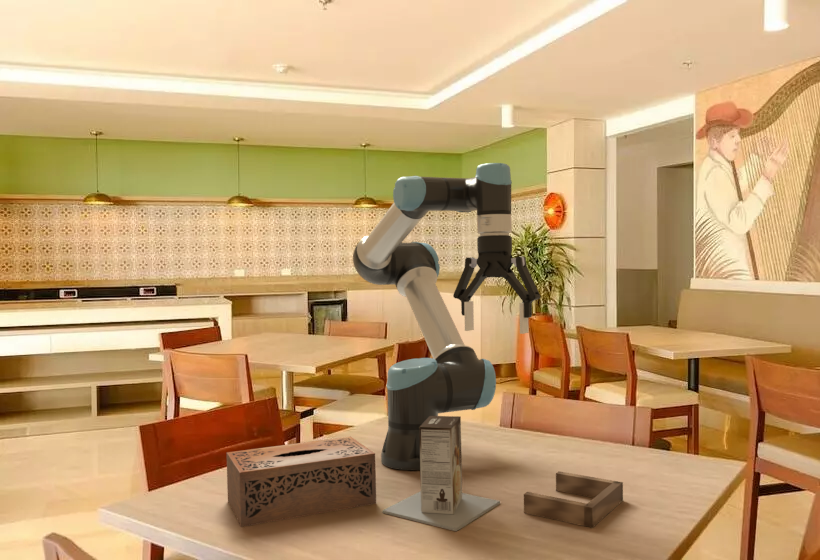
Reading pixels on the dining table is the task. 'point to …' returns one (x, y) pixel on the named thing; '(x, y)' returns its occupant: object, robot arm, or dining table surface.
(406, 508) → the grey mat
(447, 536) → the dining table surface
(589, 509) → the wooden u-shaped frame
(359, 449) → the tissue box cover
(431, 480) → the coffee box
